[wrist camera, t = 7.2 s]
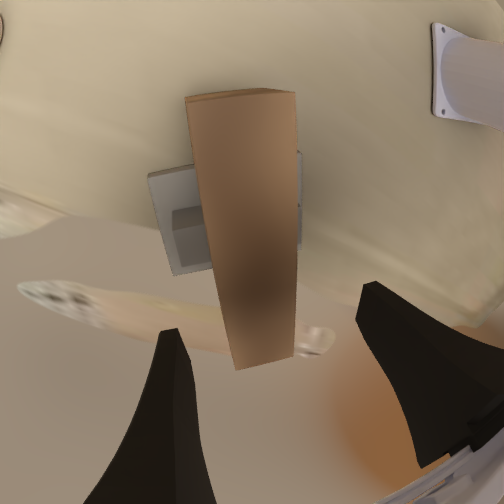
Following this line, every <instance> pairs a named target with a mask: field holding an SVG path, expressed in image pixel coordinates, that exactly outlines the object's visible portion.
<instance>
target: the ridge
mask: <svg viewBox="0 0 504 504" xmlns="http://www.w3.org/2000/svg"><path fill="white" fill-rule="evenodd" d="M297 177H298V239H297V251H300V250H301V238H302V153H301V152H299V151H298V150H297ZM147 179H148V184H149V188H150V192H151V196H152V200H153V205H154V209H155V213H156V216H157V220H158V224H159V228H160V232H161V235H162V239H163V242H164V246H165V249H166V253H167V257H168V260H169V263H170V267H171V270H172V274H173V276H177V275H182V274H187V273H192V272H197V271H202V270H207V269H212V268H213V267H212V262H211V256H210V251H209V246H208V241H207V235H206V230H205V224H204V219H203V213H202V207H201V202H200V196H199V190H198V184H197V178H196V171H195V165H188V166H183V167H178V168H173V169H168V170H163V171H159V172H154V173H150V174H148V177H147Z"/></svg>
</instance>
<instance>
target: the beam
mask: <svg viewBox="0 0 504 504" xmlns="http://www.w3.org/2000/svg"><path fill="white" fill-rule="evenodd" d="M185 103H186V111H187V118H188V125H189V132H190V139H191V146H192V152H193V159H194V165H195V171H196V178H197V184H198V190H199V196H200V202H201V207H202V213H203V219H204V224H205V230H206V235H207V241H208V246H209V251H210V256H211V262H212V267H213V271H214V277H215V282H216V287H217V291H218V296H219V301H220V306H221V311H222V315H223V320H224V324H225V329H226V333H227V337H228V341H229V345H230V349H231V353H232V358H233V361H234V365H235V369H236V370H241V369H245V368H249V367H254V366H258V365H262V364H266V363H270V362H274V361H278V360H282V359H285V358H289V357H293V353H294V335H295V313H296V312H295V311H296V285H297V239H298V177H297V131H296V105H295V92H289V91H282V90H275V89H267V88H255V89H243V90H233V91H224V92H216V93H208V94H202V95H195V96H189V97H185Z"/></svg>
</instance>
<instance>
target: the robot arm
mask: <svg viewBox="0 0 504 504" xmlns="http://www.w3.org/2000/svg"><path fill="white" fill-rule="evenodd" d="M441 29H442V30H441ZM432 33H433V53H434V90H433V114H434V115H435V116H437V117H442V118H449V119H455V120H462V121H468V122H473V123H479V124H484V125H488V126H490V127H492V128H495V129H497V130H500V131H502V132H504V43H499V42H494V41H487V40H481V39H473V38H470V37H468V36H466V35H464V34H462V33H460V32H458V31H456V30H454V29H452V28H449V27H447V26H445V25H443V24H440V23H433V24H432ZM441 111H442V112H441ZM355 319H356V322H357V324H358V327H359V329H360V331H361V333H362V335H363V338H364V340H365V341H366V343H367V345H368V346H369V348H370V350H371V351H372V353H373V354H374V356H375V358H376V359H377V361H378V363H379V364H380V366H381V367H382V369H383V371H384V372H385V374H386V376H387V377H388V379H389V381H390V382H391V385H392V387H393V388H394V391H395V392H396V395H397V398H398V400H399V402H400V404H401V407H402V410H403V412H404V415H405V417H406V420H407V423H408V426H409V430H410V433H411V436H412V440H413V444H414V448H415V452H416V457H417V462H418V464H419V466H420V468H424V467H425V466H427V465H429V464H431V463H432V462H434V461H436V460H437V459H439V458H441V457H442V456H444V455H445V454H447V453H449V454H450V456H451V458H449V459H448V460H447V461H445V462H444V463H442V464H441V465H439V466H438V467H436V468H435V469H433V470H432V471H430V472H429V473H427V474H425V475H424V476H422V477H421V478H419V479H417V480H416V481H414V482H412V483H411V484H409V485H407V486H405V487H404V488H402V489H400V490H398V491H396V492H394V493H392V494H391V495H389V496H387V497H385V498H383V499H381V500H379V501H376V502H374V503H372V504H406V503H408V502H409V501H411V500H413V499H414V498H416V497H418V496H419V495H421V494H423V493H424V492H425V493H424V494H423V495H421V496H420V497H419V498H417V499H416V500H415V501H414V502H413V504H497V503H498V502H499V500H500V499H501V498H502V497H503V495H504V349H500V348H497V347H494V346H491V345H488V344H485V343H482V342H480V341H478V340H475V339H472V338H470V337H468V336H466V335H463V334H462V333H459V332H458V331H456V330H454V329H451V328H450V327H448V326H446V325H444V324H442V323H441V322H439V321H437V320H436V319H434V318H432V317H431V316H429V315H427V314H426V313H424V312H423V311H421V310H420V309H418V308H417V307H415V306H413V305H412V304H410V303H409V302H407V301H406V300H405V299H403V298H402V297H400V296H399V295H397V294H396V293H394V292H393V291H391V290H390V289H388V288H387V287H385V286H384V285H382V284H380V283H379V282H377V281H374V282H370V283H367V284H364V285H363V289H362V293H361V298H360V302H359V306H358V310H357V315H356V318H355ZM444 479H445V482H444V483H442V484H440V485H438V486H436V487H434V486H435V485H437V484H438V483H439V482H441V481H442V480H444ZM432 487H434V488H432ZM431 488H432V489H431ZM429 489H430V490H429ZM427 490H429V491H427ZM426 491H427V492H426ZM83 504H217V503H216V500H215V497H214V493H213V490H212V487H211V483H210V479H209V476H208V472H207V468H206V464H205V460H204V456H203V452H202V447H201V441H200V435H199V424H198V413H197V402H196V391H195V382H194V376H193V371H192V366H191V360H190V358H189V355H188V353H187V351H186V348H185V346H184V343H183V341H182V338H181V336H180V333H179V331H178V328H175V329H169V330H164V331H161V332H160V333H159V336H158V341H157V345H156V349H155V353H154V357H153V361H152V364H151V368H150V371H149V374H148V377H147V380H146V384H145V387H144V389H143V392H142V395H141V398H140V401H139V403H138V406H137V409H136V411H135V414H134V416H133V418H132V421H131V423H130V426H129V428H128V430H127V432H126V434H125V436H124V438H123V440H122V442H121V445H120V446H119V448H118V450H117V452H116V454H115V456H114V458H113V459H112V461H111V463H110V464H109V466H108V468H107V469H106V471H105V473H104V474H103V476H102V477H101V479H100V481H99V482H98V484H97V485H96V486H95V488H94V489H93V491H92V492H91V493H90V495H89V496H88V497H87V499H86V500H85V501H84V503H83Z"/></svg>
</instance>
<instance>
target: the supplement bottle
mask: <svg viewBox="0 0 504 504" xmlns="http://www.w3.org/2000/svg"><path fill="white" fill-rule="evenodd" d="M1 37H2V20H1V17H0V41H1Z"/></svg>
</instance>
